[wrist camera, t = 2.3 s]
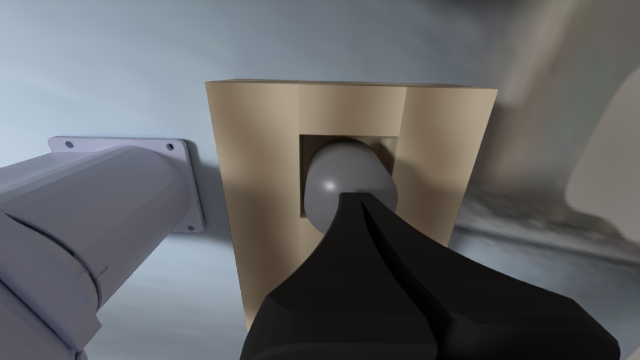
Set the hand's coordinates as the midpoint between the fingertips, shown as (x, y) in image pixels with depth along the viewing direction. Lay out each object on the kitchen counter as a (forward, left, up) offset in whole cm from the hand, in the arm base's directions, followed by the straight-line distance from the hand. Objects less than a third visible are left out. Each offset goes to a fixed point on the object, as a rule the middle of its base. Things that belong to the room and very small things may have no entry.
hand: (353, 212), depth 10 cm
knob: (0, 0, -4) cm, 4 cm away
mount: (0, -9, -8) cm, 12 cm away
